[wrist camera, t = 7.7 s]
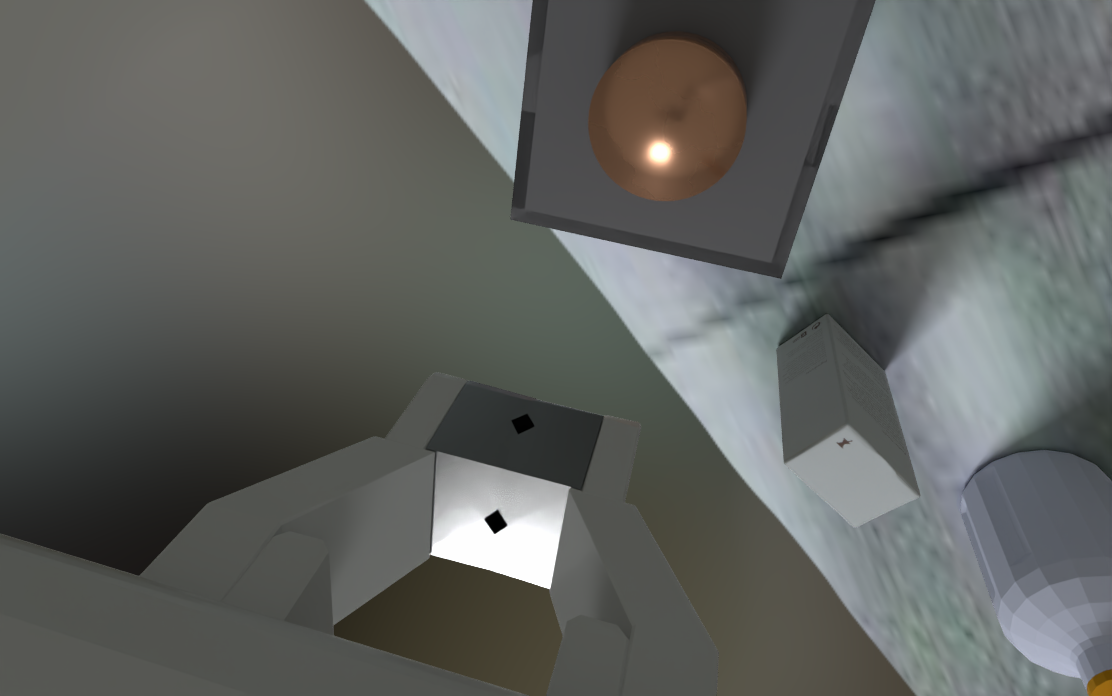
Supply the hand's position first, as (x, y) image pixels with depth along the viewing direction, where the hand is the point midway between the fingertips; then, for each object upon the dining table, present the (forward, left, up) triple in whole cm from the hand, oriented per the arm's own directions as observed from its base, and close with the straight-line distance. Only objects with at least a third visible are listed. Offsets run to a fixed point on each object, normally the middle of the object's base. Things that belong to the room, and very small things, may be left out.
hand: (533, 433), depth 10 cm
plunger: (0, 0, -33) cm, 33 cm away
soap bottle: (+24, +29, -35) cm, 52 cm away
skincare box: (+17, +13, -35) cm, 41 cm away
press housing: (0, 0, -35) cm, 35 cm away
